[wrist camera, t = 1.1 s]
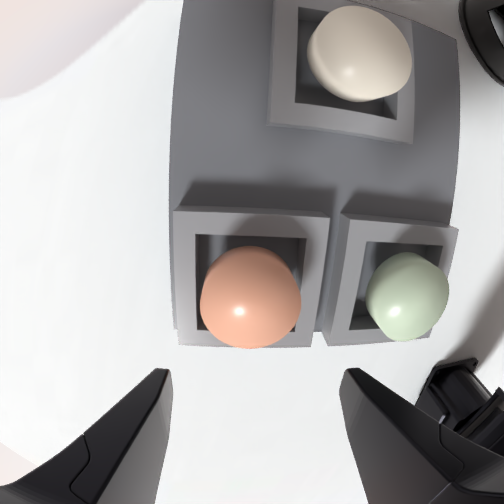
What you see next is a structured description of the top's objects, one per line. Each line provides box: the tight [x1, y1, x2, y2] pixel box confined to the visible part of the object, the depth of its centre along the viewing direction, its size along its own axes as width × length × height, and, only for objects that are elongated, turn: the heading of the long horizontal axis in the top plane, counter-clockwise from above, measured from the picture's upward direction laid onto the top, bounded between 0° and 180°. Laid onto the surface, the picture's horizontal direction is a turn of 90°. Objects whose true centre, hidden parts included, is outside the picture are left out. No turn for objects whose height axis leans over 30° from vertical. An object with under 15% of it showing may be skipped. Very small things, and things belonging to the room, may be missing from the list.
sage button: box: [365, 252, 449, 342], centre depth 14 cm, size 4×4×2 cm
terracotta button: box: [200, 246, 301, 349], centre depth 13 cm, size 4×4×2 cm
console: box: [169, 0, 460, 348], centre depth 15 cm, size 16×19×4 cm
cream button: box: [307, 6, 412, 102], centre depth 10 cm, size 4×4×2 cm
